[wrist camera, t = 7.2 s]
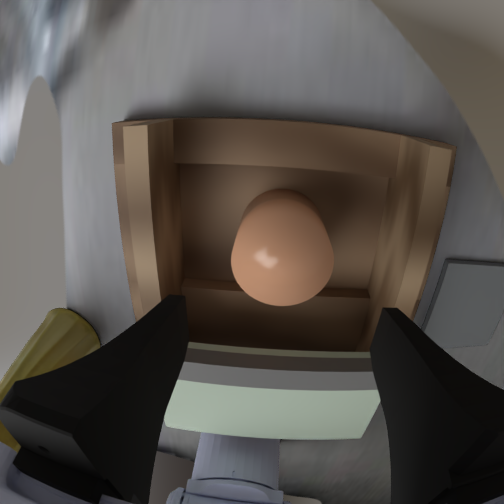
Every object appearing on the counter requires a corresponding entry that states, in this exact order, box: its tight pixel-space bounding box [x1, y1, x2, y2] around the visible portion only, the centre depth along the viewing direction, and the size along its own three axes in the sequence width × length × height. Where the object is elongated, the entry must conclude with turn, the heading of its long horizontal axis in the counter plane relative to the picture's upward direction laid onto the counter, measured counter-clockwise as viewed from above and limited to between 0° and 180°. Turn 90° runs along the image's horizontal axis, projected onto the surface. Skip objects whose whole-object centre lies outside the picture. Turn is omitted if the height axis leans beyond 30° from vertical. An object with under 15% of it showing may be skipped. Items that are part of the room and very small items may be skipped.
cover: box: [164, 342, 381, 440], centre depth 19 cm, size 9×15×2 cm, turn 88°
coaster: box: [421, 259, 504, 348], centre depth 22 cm, size 8×8×1 cm
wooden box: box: [112, 117, 457, 352], centre depth 19 cm, size 20×20×5 cm
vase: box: [0, 308, 100, 453], centre depth 20 cm, size 6×6×14 cm
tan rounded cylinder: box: [231, 189, 334, 306], centre depth 18 cm, size 5×5×4 cm
